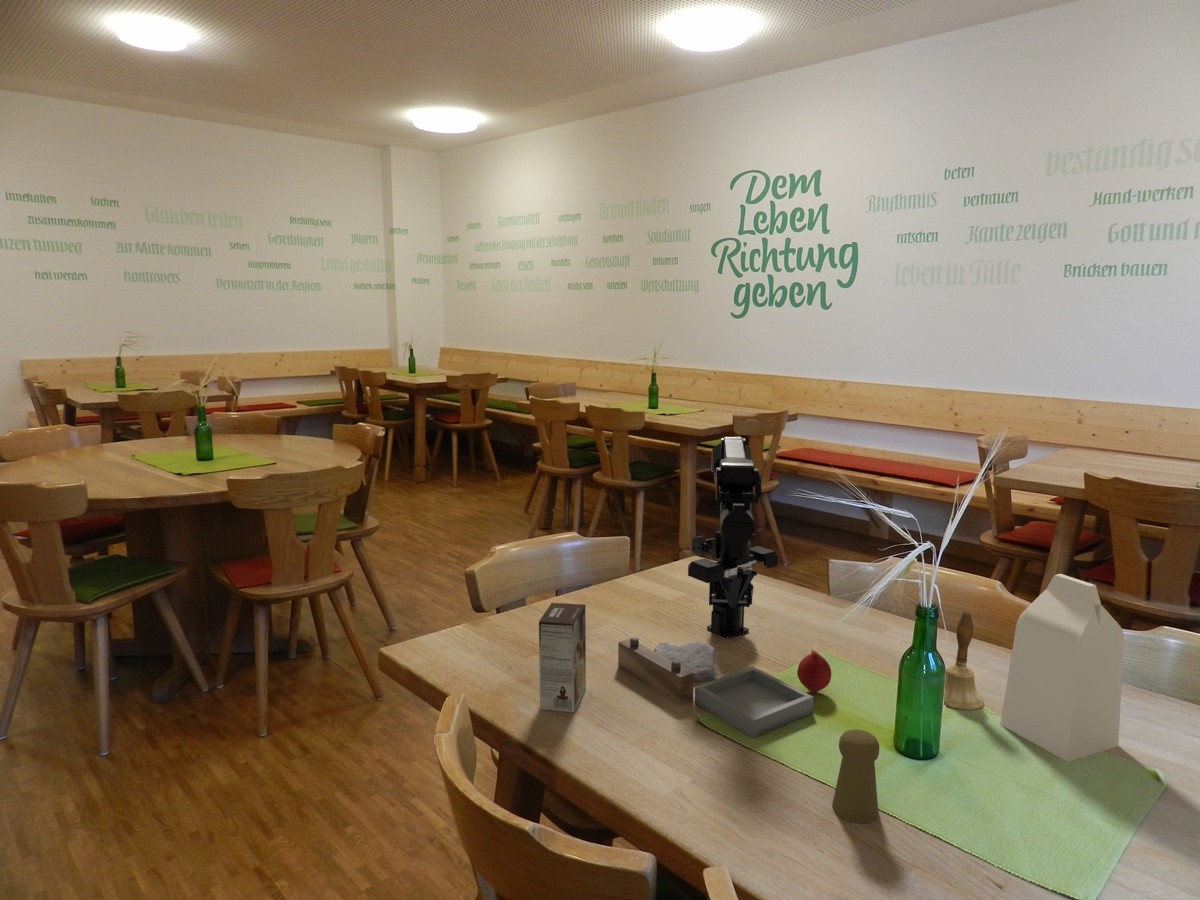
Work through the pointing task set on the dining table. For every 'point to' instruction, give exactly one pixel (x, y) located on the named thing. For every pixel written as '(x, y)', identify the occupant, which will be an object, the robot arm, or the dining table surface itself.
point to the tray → (753, 701)
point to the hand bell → (962, 672)
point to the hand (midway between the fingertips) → (732, 606)
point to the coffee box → (562, 656)
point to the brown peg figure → (857, 777)
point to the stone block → (692, 658)
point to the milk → (1066, 672)
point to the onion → (814, 672)
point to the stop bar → (656, 670)
